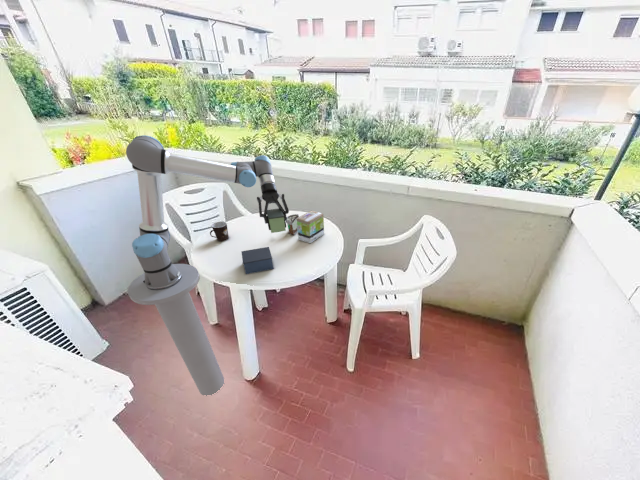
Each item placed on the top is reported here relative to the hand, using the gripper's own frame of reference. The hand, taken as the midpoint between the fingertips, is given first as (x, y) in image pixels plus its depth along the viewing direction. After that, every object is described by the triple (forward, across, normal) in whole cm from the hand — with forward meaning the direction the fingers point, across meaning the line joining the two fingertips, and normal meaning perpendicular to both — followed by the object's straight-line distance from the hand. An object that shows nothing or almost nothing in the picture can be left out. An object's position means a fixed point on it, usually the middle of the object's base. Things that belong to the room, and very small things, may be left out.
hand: (277, 227), depth 140 cm
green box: (-1, 0, -4) cm, 4 cm away
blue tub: (+13, +13, -20) cm, 26 cm away
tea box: (-3, -22, -35) cm, 42 cm away
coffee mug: (-14, +32, -46) cm, 58 cm away
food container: (-11, -12, -44) cm, 47 cm away
